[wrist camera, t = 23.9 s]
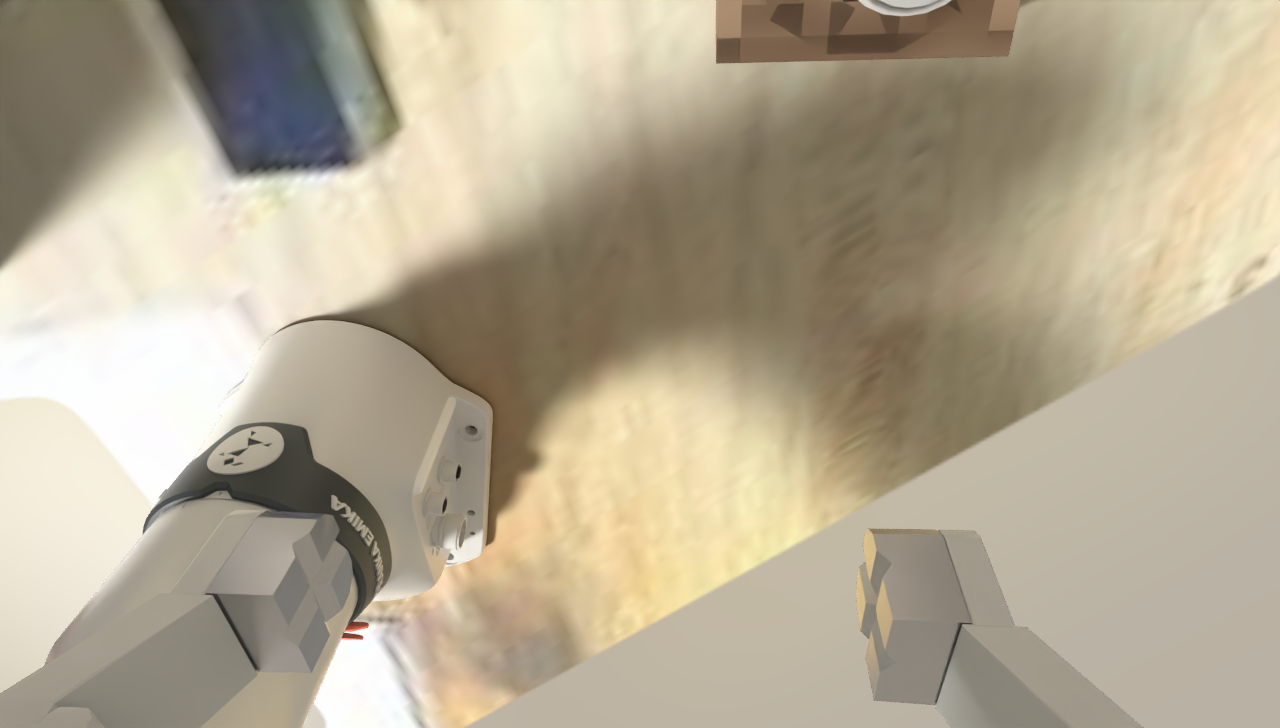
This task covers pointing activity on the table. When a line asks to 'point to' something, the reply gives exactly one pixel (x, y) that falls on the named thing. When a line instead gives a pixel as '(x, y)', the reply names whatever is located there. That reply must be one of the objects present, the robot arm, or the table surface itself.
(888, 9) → the beverage can
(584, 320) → the table surface
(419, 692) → the table surface
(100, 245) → the table surface
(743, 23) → the socket block
